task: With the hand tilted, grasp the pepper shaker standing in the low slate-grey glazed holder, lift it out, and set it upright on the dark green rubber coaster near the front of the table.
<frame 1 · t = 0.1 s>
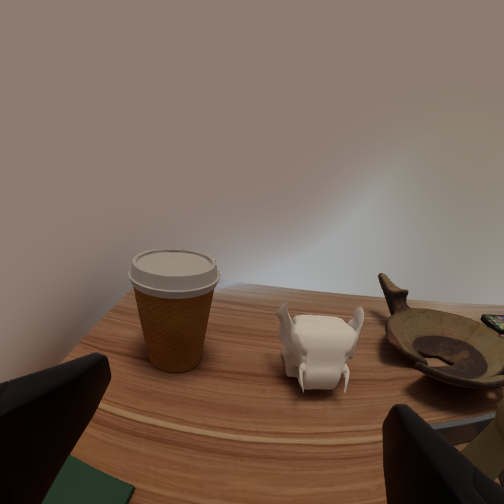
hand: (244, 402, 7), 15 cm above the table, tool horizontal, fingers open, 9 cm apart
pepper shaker: (461, 481, 13), resting in holder
elephant figurine: (309, 375, 31), on the table
holder: (462, 480, 13), on the table
brown shallow dish: (436, 356, 34), on the table
disposable coffee cup: (174, 357, 31), on the table
coaster: (62, 502, 10), on the table
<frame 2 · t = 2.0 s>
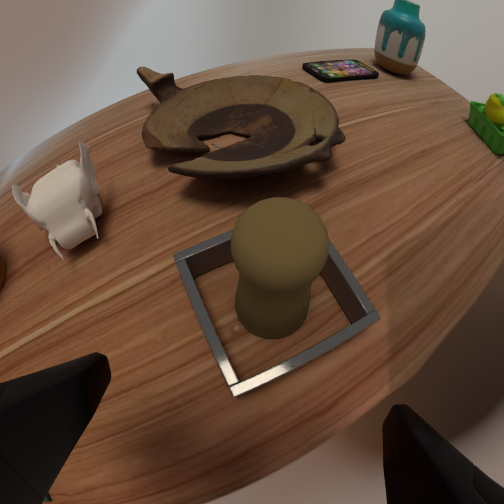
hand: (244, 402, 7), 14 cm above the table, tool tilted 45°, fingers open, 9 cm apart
smartphone: (341, 72, 46), on the table
fruit basket: (485, 139, 38), on the table
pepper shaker: (271, 304, 23), resting in holder
elephant figurine: (82, 223, 28), on the table
holder: (272, 303, 23), on the table
brown shallow dish: (229, 130, 35), on the table
vase: (392, 71, 49), on the table
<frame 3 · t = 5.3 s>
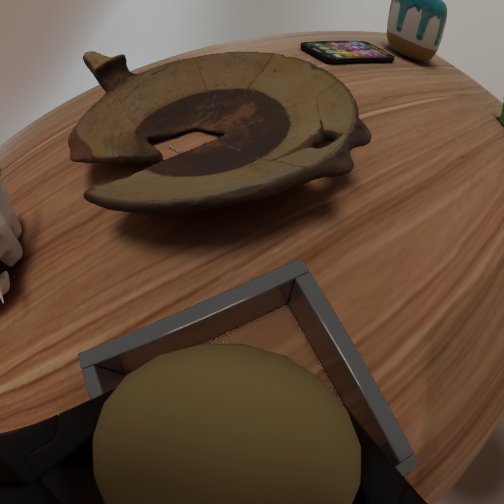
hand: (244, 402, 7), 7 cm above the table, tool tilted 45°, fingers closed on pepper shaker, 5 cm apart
smartphone: (349, 54, 34), on the table
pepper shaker: (244, 424, 13), resting in holder, touching gripper
elephant figurine: (4, 268, 17), on the table
holder: (244, 425, 12), on the table
brown shallow dish: (197, 127, 24), on the table
vase: (407, 56, 38), on the table
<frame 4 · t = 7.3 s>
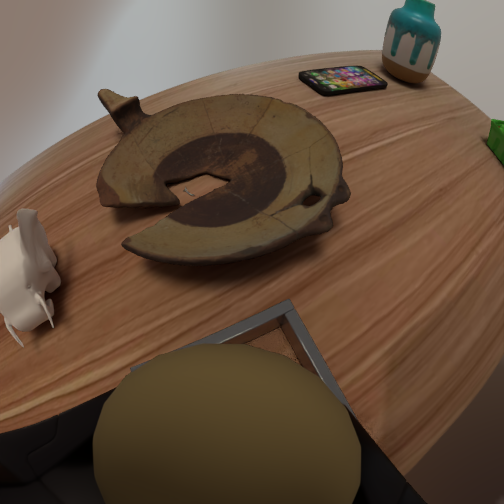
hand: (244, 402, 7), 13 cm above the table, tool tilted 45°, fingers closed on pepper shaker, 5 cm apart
smartphone: (344, 82, 40), on the table
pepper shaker: (245, 424, 13), point 6 cm above the table, touching gripper
elephant figurine: (42, 293, 23), on the table
holder: (249, 414, 18), on the table
brown shallow dish: (206, 169, 29), on the table
vase: (401, 78, 43), on the table
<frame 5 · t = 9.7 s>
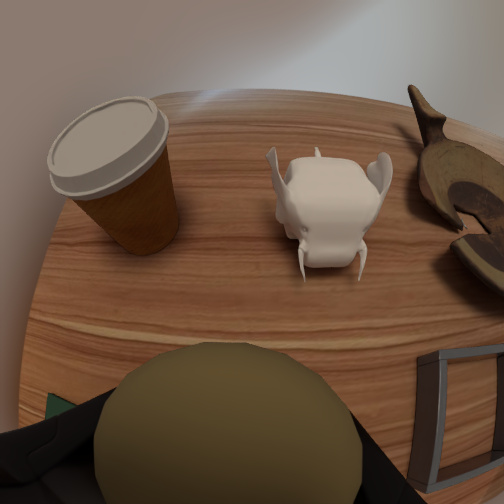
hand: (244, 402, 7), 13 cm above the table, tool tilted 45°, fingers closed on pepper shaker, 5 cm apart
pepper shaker: (245, 424, 13), point 7 cm above the table, touching gripper
elephant figurine: (317, 233, 26), on the table
holder: (464, 413, 16), on the table
brown shallow dish: (472, 211, 27), on the table
disposable coffee cup: (148, 228, 26), on the table
coaster: (84, 455, 16), on the table
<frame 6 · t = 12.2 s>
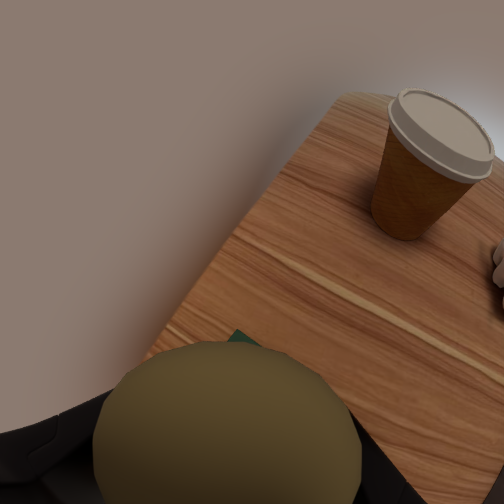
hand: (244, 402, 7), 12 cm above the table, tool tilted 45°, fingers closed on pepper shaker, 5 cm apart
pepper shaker: (244, 423, 13), point 6 cm above the table, touching gripper
disposable coffee cup: (397, 214, 26), on the table
when the fingers open (7 cm above the table, at t = 14.1 s): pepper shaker stays where it is, resting on coaster.
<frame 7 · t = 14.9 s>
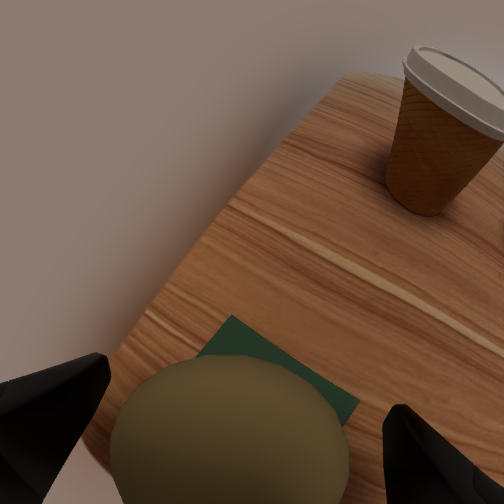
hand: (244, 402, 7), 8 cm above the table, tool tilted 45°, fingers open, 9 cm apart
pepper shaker: (245, 425, 13), resting on coaster
disposable coffee cup: (414, 189, 22), on the table
coaster: (246, 422, 14), on the table
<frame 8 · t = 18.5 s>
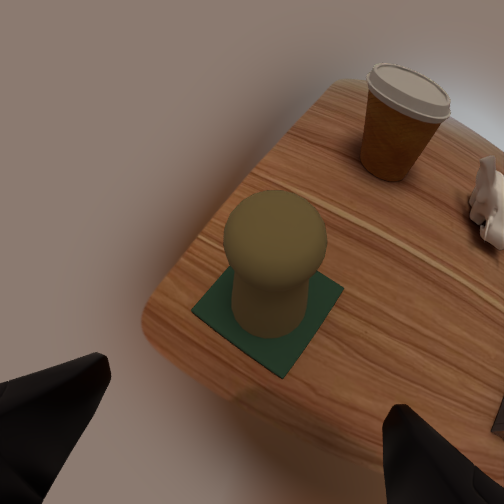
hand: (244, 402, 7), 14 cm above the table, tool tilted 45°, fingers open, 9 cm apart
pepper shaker: (269, 302, 23), resting on coaster
elephant figurine: (484, 226, 27), on the table
disposable coffee cup: (382, 164, 31), on the table
coaster: (269, 302, 23), on the table
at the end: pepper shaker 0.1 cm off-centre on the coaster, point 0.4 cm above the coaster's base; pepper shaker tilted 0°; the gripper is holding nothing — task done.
